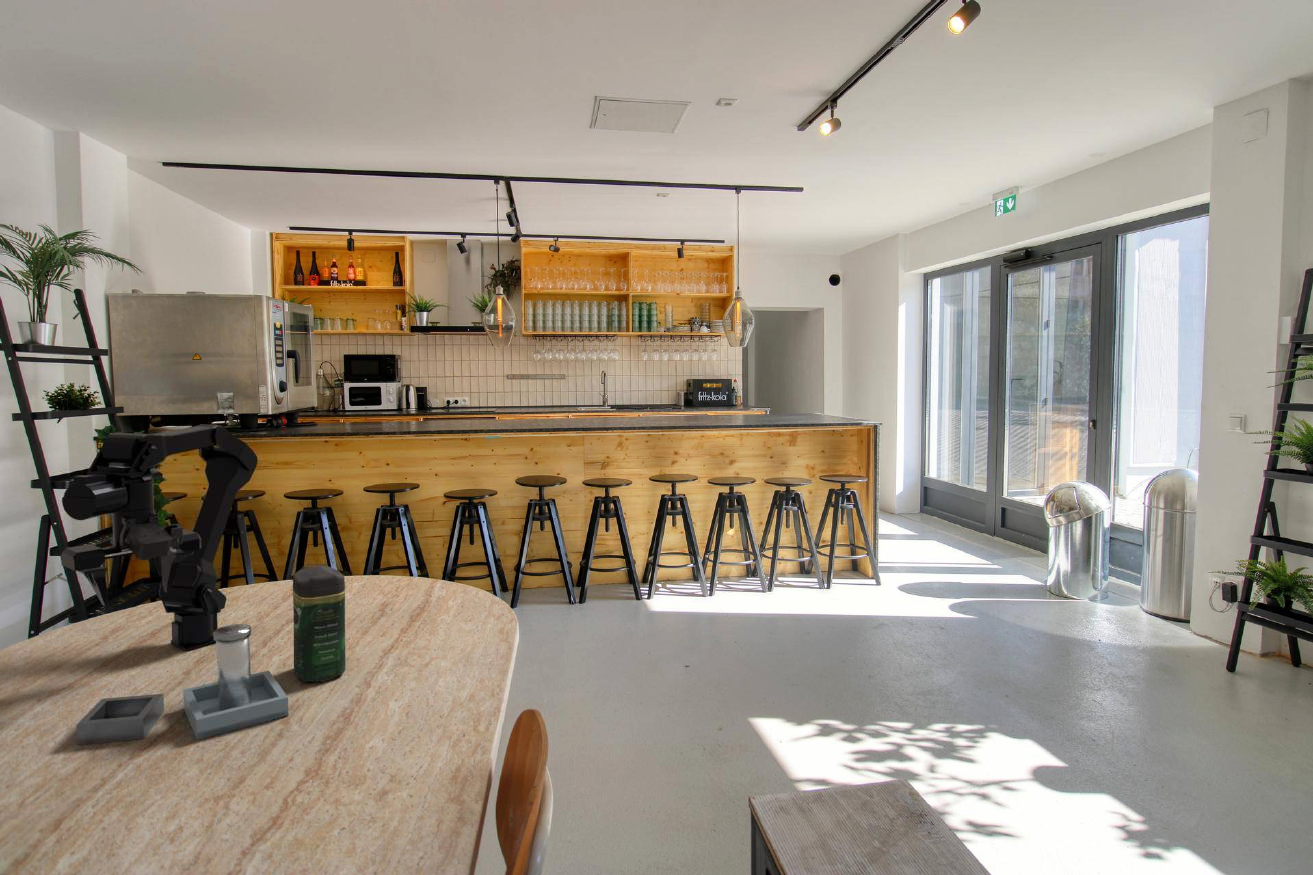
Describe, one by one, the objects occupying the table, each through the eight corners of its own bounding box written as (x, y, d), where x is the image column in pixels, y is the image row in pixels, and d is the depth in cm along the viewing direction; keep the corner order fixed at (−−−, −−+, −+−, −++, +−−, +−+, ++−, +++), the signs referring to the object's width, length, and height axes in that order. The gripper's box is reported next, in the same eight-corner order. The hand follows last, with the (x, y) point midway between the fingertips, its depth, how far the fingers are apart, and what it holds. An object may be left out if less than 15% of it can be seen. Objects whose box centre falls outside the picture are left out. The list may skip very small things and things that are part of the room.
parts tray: (183, 708, 114) (183, 689, 113) (269, 687, 121) (268, 670, 121) (197, 740, 105) (196, 720, 104) (288, 715, 112) (288, 697, 112)
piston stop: (232, 696, 116) (229, 623, 115) (261, 699, 115) (258, 624, 114) (209, 711, 111) (205, 634, 110) (239, 713, 110) (236, 636, 109)
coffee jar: (351, 677, 126) (350, 572, 125) (301, 688, 122) (299, 579, 120) (337, 657, 134) (336, 558, 132) (289, 667, 129) (287, 565, 128)
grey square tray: (102, 717, 110) (101, 698, 110) (164, 712, 112) (163, 693, 112) (77, 744, 102) (76, 724, 102) (143, 738, 104) (143, 718, 104)
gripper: (87, 524, 111) (91, 624, 112) (216, 506, 126) (218, 594, 128) (57, 513, 117) (62, 608, 118) (184, 497, 132) (187, 581, 134)
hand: (136, 598), depth 124 cm, fingers open, 9 cm apart
